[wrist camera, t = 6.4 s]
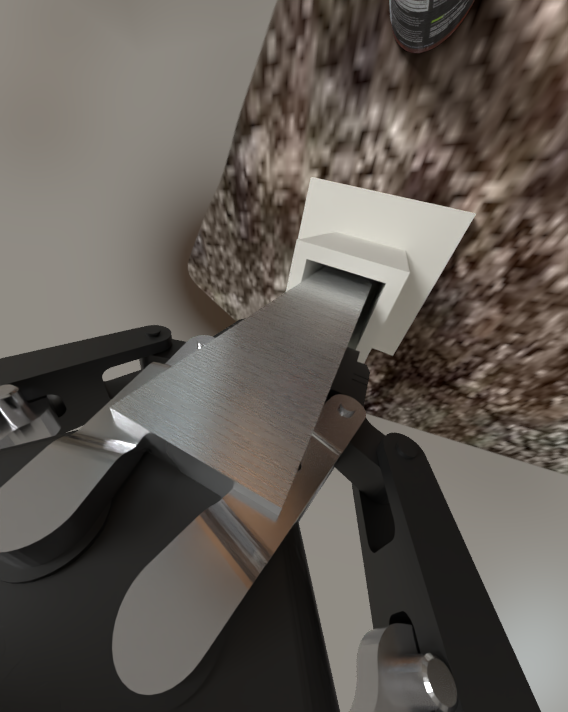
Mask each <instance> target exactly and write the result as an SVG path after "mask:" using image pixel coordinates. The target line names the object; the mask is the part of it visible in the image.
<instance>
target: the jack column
mask: <svg viewBox="0 0 568 712" xmlns="http://www.w3.org/2000/svg"><path fill="white" fill-rule="evenodd" d="M373 281H374V280H373V279H370V278H367V277H364V276H360V275H357V274H354V273H351V272H347V271H344V270H341V269H338V268H334V267H331V266H328V265H327V266H325V267H324V268H322V269H321V270H319V271H318V272H316V273H314V274H313V275H311V276H310V277H308V278H307V279H305V280H304V281H302V282H301V283H299V284H298V285H296V286H295V287H293V288H292V289H290V290H288V291H287V292H285V293H284V294H282V295H281V296H279V297H278V298H276V299H275V300H273V301H272V302H270V303H269V304H267V305H265V306H264V307H262V308H261V309H259V310H258V311H256V312H255V313H253V314H252V315H250V316H249V317H247V318H246V319H244V320H242V321H241V322H239V323H238V324H236V325H235V326H233V327H232V328H230V329H229V330H227V331H226V332H224V333H223V334H221V335H220V336H218V337H216V338H215V339H213V340H212V341H210V342H209V343H207V344H206V345H204V346H203V347H201V348H200V349H198V350H197V351H195V352H193V353H192V354H190V355H189V356H187V357H186V358H184V359H183V360H181V361H180V362H178V363H177V364H175V365H174V366H172V367H171V368H169V369H167V370H166V371H164V372H163V373H161V374H160V375H158V376H157V377H155V378H154V379H152V380H151V381H149V382H148V383H146V384H144V385H143V386H141V387H140V388H138V389H137V390H135V391H134V392H132V393H131V394H129V395H128V396H126V397H125V398H123V399H121V400H120V401H118V402H117V403H115V404H114V405H112V406H111V407H110V410H111V413H112V416H113V417H114V418H116V419H117V420H119V421H121V422H122V423H124V424H126V425H127V426H129V427H131V428H132V429H134V430H136V431H137V432H139V433H141V434H142V435H144V438H145V441H146V445H147V451H148V452H150V453H151V454H153V455H155V456H156V457H158V458H160V459H161V460H163V461H164V462H166V463H168V464H169V465H171V466H173V467H174V468H176V469H177V470H179V471H181V472H182V473H184V474H186V475H187V476H189V477H190V478H192V479H194V480H195V481H197V482H199V483H200V484H202V485H203V486H205V487H207V488H208V489H210V490H212V491H213V492H215V493H217V494H218V495H220V496H221V497H224V496H225V495H226V494H227V493H229V492H230V491H231V490H232V489H235V490H236V491H238V492H240V493H241V494H243V495H245V496H246V497H248V498H250V499H251V500H253V501H255V502H256V503H258V504H260V505H261V506H263V507H265V508H266V509H268V510H270V511H271V512H273V513H275V514H276V515H278V516H279V514H280V511H281V509H282V507H283V504H284V502H285V499H286V497H287V494H288V492H289V489H290V487H291V484H292V482H293V479H294V477H295V474H296V472H297V470H298V467H299V465H300V462H301V460H302V457H303V455H304V452H305V450H306V447H307V445H308V442H309V440H310V437H311V435H312V432H313V430H314V427H315V425H316V422H317V420H318V417H319V415H320V412H321V410H322V407H323V405H324V402H325V400H326V397H327V395H328V392H329V390H330V388H331V385H332V383H333V380H334V378H335V375H336V373H337V370H338V368H339V365H340V363H341V360H342V358H343V355H344V353H345V350H346V348H347V345H348V343H349V340H350V338H351V335H352V333H353V330H354V328H355V325H356V323H357V320H358V318H359V315H360V313H361V311H362V308H363V306H364V303H365V301H366V298H367V296H368V293H369V291H370V288H371V286H372V283H373Z"/></svg>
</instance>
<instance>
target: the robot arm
mask: <svg viewBox="0 0 568 712" xmlns="http://www.w3.org/2000/svg"><path fill="white" fill-rule="evenodd" d="M245 319H246V318H245ZM242 320H244V319H241V320H238V321H237V322H235V323H234V324H233V325H231V326H229V327H228V328H226V329H224V330H223V331H221V332H220V333H218V334H216V335H215V336H213V337H211V336H206V335H205V336H204V335H202V336H195V337H193V338H191V339H189V340H188V341H187V342H184V341H179V340H174V339H172V336H171V331H170V330H169V329H168V328H166V327H163V326H159V325H151V326H144V327H140V328H135V329H131V330H126V331H122V332H118V333H113V334H109V335H104V336H99V337H95V338H91V339H86V340H82V341H77V342H73V343H68V344H64V345H59V346H55V347H50V348H46V349H41V350H37V351H33V352H28V353H23V354H19V355H15V356H10V357H5V358H1V359H0V712H340V709H339V705H338V700H337V696H336V691H335V687H334V682H333V677H332V673H331V668H330V664H329V659H328V655H327V650H326V646H325V641H324V636H323V632H322V628H321V623H320V618H319V614H318V609H317V604H316V600H315V595H314V591H313V586H312V582H311V577H310V573H309V568H308V564H307V559H306V554H305V550H304V545H303V541H302V536H301V532H300V527H299V521H300V519H301V518H302V516H303V515H304V513H305V512H306V510H307V509H308V507H309V506H310V504H311V503H312V501H313V499H314V498H315V496H316V494H317V493H318V491H319V490H320V489H321V487H322V486H323V484H324V483H325V481H326V480H327V478H328V476H329V475H330V474H331V472H332V471H333V469H334V467H335V468H337V469H338V470H339V471H340V472H341V473H342V474H343V475H344V476H345V477H346V478H347V479H348V480H349V481H351V482H352V489H353V495H354V502H355V508H356V515H357V522H358V528H359V535H360V542H361V548H362V555H363V562H364V568H365V575H366V581H367V589H368V595H369V602H370V609H371V615H372V622H373V630H371V631H369V632H367V633H366V634H365V635H364V637H363V638H362V640H361V643H360V645H359V649H358V653H357V686H356V693H355V698H354V701H353V704H352V707H351V709H350V711H349V712H541V711H540V708H539V706H538V704H537V702H536V699H535V697H534V695H533V693H532V691H531V689H530V686H529V684H528V682H527V680H526V677H525V675H524V673H523V671H522V668H521V667H520V664H519V662H518V660H517V657H516V655H515V653H514V651H513V648H512V646H511V644H510V642H509V640H508V637H507V636H506V633H505V631H504V629H503V626H502V624H501V622H500V620H499V617H498V615H497V613H496V611H495V609H494V606H493V604H492V602H491V600H490V598H489V595H488V593H487V591H486V589H485V586H484V584H483V582H482V580H481V578H480V575H479V573H478V571H477V569H476V567H475V564H474V562H473V560H472V558H471V555H470V553H469V551H468V549H467V546H466V544H465V542H464V540H463V538H462V535H461V533H460V531H459V529H458V527H457V524H456V522H455V520H454V518H453V515H452V513H451V511H450V509H449V507H448V504H447V502H446V500H445V498H444V495H443V493H442V491H441V489H440V487H439V484H438V482H437V480H436V478H435V476H434V473H433V471H432V469H431V467H430V464H429V462H428V460H427V458H426V456H425V454H424V452H423V450H422V449H421V448H420V447H419V445H418V444H417V443H416V442H414V441H413V440H412V439H410V438H409V437H407V436H405V435H403V434H399V433H389V434H387V435H386V436H385V435H384V434H382V433H381V432H380V431H378V430H377V429H376V428H375V427H373V426H372V425H371V424H370V423H369V421H368V420H367V419H366V413H365V410H364V408H363V406H364V401H365V395H366V390H367V385H368V379H369V374H370V372H369V369H368V367H367V365H365V364H363V363H360V362H358V361H357V360H358V357H359V353H360V351H357V350H355V349H352V348H349V347H347V348H346V350H345V353H344V355H343V358H342V360H341V363H340V365H339V368H338V370H337V373H336V375H335V378H334V380H333V383H332V385H331V388H330V390H329V392H328V395H327V397H326V400H325V402H324V405H323V407H322V410H321V412H320V415H319V417H318V420H317V422H316V425H315V427H314V430H313V432H312V435H311V437H310V440H309V442H308V445H307V447H306V450H305V452H304V455H303V457H302V460H301V462H300V465H299V467H298V470H297V472H296V474H295V477H294V479H293V482H292V484H291V487H290V489H289V492H288V494H287V497H286V499H285V502H284V504H283V507H282V509H281V511H280V514H279V516H278V515H276V514H275V513H273V512H271V511H270V510H268V509H266V508H265V507H263V506H261V505H260V504H258V503H256V502H255V501H253V500H251V499H250V498H248V497H246V496H245V495H243V494H241V493H240V492H238V491H236V490H235V489H232V490H231V491H230V492H229V493H227V494H226V495H225V496H224V497H221V496H220V495H218V494H217V493H215V492H213V491H212V490H210V489H208V488H207V487H205V486H203V485H202V484H200V483H199V482H197V481H195V480H194V479H192V478H190V477H189V476H187V475H186V474H184V473H182V472H181V471H179V470H177V469H176V468H174V467H173V466H171V465H169V464H168V463H166V462H164V461H163V460H161V459H160V458H158V457H156V456H155V455H153V454H151V453H150V452H148V451H147V445H146V441H145V438H144V435H142V434H141V433H139V432H137V431H136V430H134V429H132V428H131V427H129V426H127V425H126V424H124V423H122V422H121V421H119V420H117V419H116V418H114V417H113V416H112V413H111V410H110V407H111V406H112V405H114V404H115V403H117V402H118V401H120V400H121V399H123V398H125V397H126V396H128V395H129V394H131V393H132V392H134V391H135V390H137V389H138V388H140V387H141V386H143V385H144V384H146V383H148V382H149V381H151V380H152V379H154V378H155V377H157V376H158V375H160V374H161V373H163V372H164V371H166V370H167V369H169V368H171V367H172V366H174V365H175V364H177V363H178V362H180V361H181V360H183V359H184V358H186V357H187V356H189V355H190V354H192V353H193V352H195V351H197V350H198V349H200V348H201V347H203V346H204V345H206V344H207V343H209V342H210V341H212V340H213V339H215V338H216V337H218V336H220V335H221V334H223V333H224V332H226V331H227V330H229V329H230V328H232V327H233V326H235V325H236V324H238V323H239V322H241V321H242ZM137 359H139V361H140V365H141V370H139V371H136V372H133V373H130V374H127V375H124V376H122V377H119V378H116V379H113V380H110V381H103V379H102V375H103V373H104V371H106V370H107V369H109V368H110V367H114V366H117V365H120V364H124V363H127V362H130V361H133V360H137ZM83 425H84V426H83ZM80 426H83V427H82V428H80V429H79V430H76V431H72V432H68V431H70V430H73V429H76V428H78V427H80ZM66 432H67V433H66Z"/></svg>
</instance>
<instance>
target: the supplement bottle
mask: <svg viewBox="0 0 568 712" xmlns="http://www.w3.org/2000/svg"><path fill="white" fill-rule="evenodd" d="M474 1H475V0H389V4H390V18H391V26H392V31H393V34H394V37H395V39H396V41H397V43H398V44H399V45H400V46H401V47H402V48H403V49H404V50H406V51H408V52H411V53H422V52H425V51H428V50H431V49H433V48H435V47H436V46H438V45H440V44H441V43H442V42H443V41H444V40H446V39H447V38H448V37H449V36H450V35H451V34H452V33H453V32H454V31H455V30H456V29H457V28H458V26H459V25H460V24H461V22H462V21H463V19H464V18H465V16H466V15H467V13H468V12H469V10H470V8H471V6H472V5H473V3H474Z"/></svg>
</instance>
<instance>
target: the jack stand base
mask: <svg viewBox="0 0 568 712" xmlns="http://www.w3.org/2000/svg"><path fill="white" fill-rule="evenodd" d="M475 215H476V213H471V212H467V211H462V210H458V209H453V208H449V207H444V206H440V205H435V204H431V203H426V202H422V201H417V200H413V199H408V198H404V197H399V196H395V195H390V194H386V193H381V192H377V191H372V190H368V189H363V188H359V187H354V186H350V185H345V184H341V183H336V182H332V181H327V180H323V179H318V178H314V177H311V179H310V184H309V189H308V194H307V199H306V203H305V208H304V213H303V218H302V222H301V227H300V232H299V237H298V239H297V241H296V246H295V251H294V256H293V260H292V265H291V270H290V275H289V280H288V284H287V289H286V292H287V291H288V290H290V289H292V288H293V287H295V286H296V285H298V284H299V283H301V282H302V281H304V280H305V279H307V278H308V277H310V276H311V275H313V274H314V273H316V272H318V271H319V270H321V269H322V268H324V267H325V266H327V265H328V266H331V267H334V268H338V269H341V270H344V271H347V272H351V273H354V274H357V275H360V276H364V277H367V278H370V279H373V280H374V281H373V283H372V286H371V288H370V291H369V293H368V296H367V298H366V301H365V303H364V306H363V308H362V311H361V313H360V315H359V318H358V320H357V323H356V325H355V328H354V330H353V333H352V335H351V338H350V340H349V343H348V345H347V347H349V348H352V349H355V350H357V351H360V353H359V357H358V360H357V361H358V362H360V363H363V364H364V362H365V360H366V358H367V356H368V354H369V353H370V351H371V349H372V348H374V349H376V350H379V351H381V352H384V353H387V354H389V355H392V356H393V355H394V353H395V351H396V350H397V348H398V346H399V345H400V343H401V341H402V339H403V338H404V336H405V334H406V333H407V331H408V329H409V327H410V326H411V324H412V322H413V321H414V319H415V317H416V315H417V314H418V312H419V310H420V309H421V307H422V305H423V304H424V302H425V300H426V298H427V297H428V295H429V293H430V292H431V290H432V288H433V286H434V285H435V283H436V281H437V280H438V278H439V276H440V275H441V273H442V271H443V269H444V268H445V266H446V264H447V263H448V261H449V259H450V257H451V256H452V254H453V252H454V251H455V249H456V247H457V245H458V244H459V242H460V240H461V239H462V237H463V235H464V234H465V232H466V230H467V228H468V227H469V225H470V223H471V222H472V220H473V218H474V216H475Z"/></svg>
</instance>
